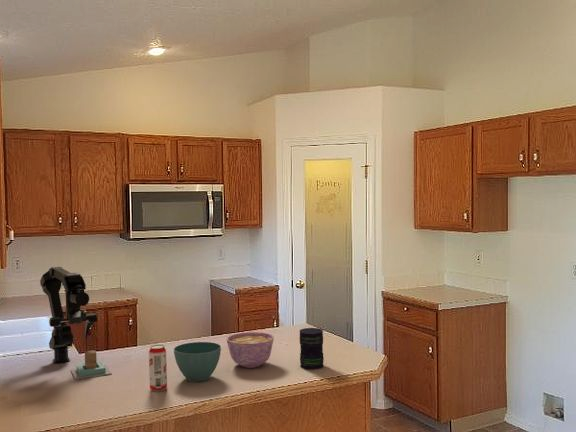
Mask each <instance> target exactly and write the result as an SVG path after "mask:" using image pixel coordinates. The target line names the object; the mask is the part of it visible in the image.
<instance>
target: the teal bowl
mask: <svg viewBox="0 0 576 432" xmlns="http://www.w3.org/2000/svg"><path fill="white" fill-rule="evenodd" d="M221 350H222V346H221V345H220V344H219V343H215V342H210V341H195V342H193V341H192V342H186V343H183V344H179V345H177V346H174V348H173V354H174V355H173V356H174V359H175V362H176V365H177V367H178V370H179V371H180V373H181V374H182V375H183V376H184V378H185V379H186V380H187V381H190V382H194V383H195V382H204V381H207V380H208V379H209V378H210V377H211V376H212V375H213V373H214V372H215V370H216V369H217V366H218V364H219V362H220V361H219V360H220V357H221Z"/></svg>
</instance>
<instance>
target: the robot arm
mask: <svg viewBox="0 0 576 432" xmlns="http://www.w3.org/2000/svg"><path fill="white" fill-rule="evenodd" d="M39 283H40V287H41V289H42V292H43V293H44V294H46V296H47V297H48V303H49V309H50V314H51V317H50V318H49V319H48V320H49V321H48V323H49V325H48V326H49V327H52V328H53V329H52V331H51V337H50V340H49V341H48V346H49V349H50V350H52V351H53V355H54V358H53V359H52V362H53V364H60V363H68V362H70V361H71V360H70V357H69V347H73V343H74V334H73V332H72V328H71V325H75V324H81V323H83V322H84V321H85V322H84V323H85V327H84V338H85V340H86V339H87V337H88V335H89V331H90V329H91V326H92V325H94V324H95V323H96V322H98V320H99V319H98V315H97V314H96V313H87V310H86V309H85V310H82V309H81V307H85V306H86V305H87V304H89V301H90V295H89V294H88V293H87V292H85V290H87V287H86V286H87V285H86V283H85V280H84V278H83V276H82V274H81V273H80V272H70V271H68V270H67V269H65V268H63V267H62V266H54V267H53V266H52V267H51V266H50V268H49V269H48V271H46V272H45V273H44V274H42V276H41V277H40V280H39ZM62 286H63V288H64V293H65V294H64V295H65V314H66V315H64V311H63V307H62V301H61V300H62V299H61V296H60V292H61V291H60V290H61V289H62ZM67 323H69V324H70V325H68V324H67Z"/></svg>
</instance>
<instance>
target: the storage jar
mask: <svg viewBox="0 0 576 432" xmlns="http://www.w3.org/2000/svg"><path fill="white" fill-rule="evenodd" d="M323 333H324V331H323V329H322V328H317V327H306V328H302V329H300V330H299V344H300V347H299V348H300V352H299V361H300V363H299V364H300V368H301V369H302V370H306V371H307V370H308V371H313V370H314V371H315V370H316V371H317V370H320V369H323V368H324V366H325V365H324V361H325V358H324V349H323V345H324V334H323Z"/></svg>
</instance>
